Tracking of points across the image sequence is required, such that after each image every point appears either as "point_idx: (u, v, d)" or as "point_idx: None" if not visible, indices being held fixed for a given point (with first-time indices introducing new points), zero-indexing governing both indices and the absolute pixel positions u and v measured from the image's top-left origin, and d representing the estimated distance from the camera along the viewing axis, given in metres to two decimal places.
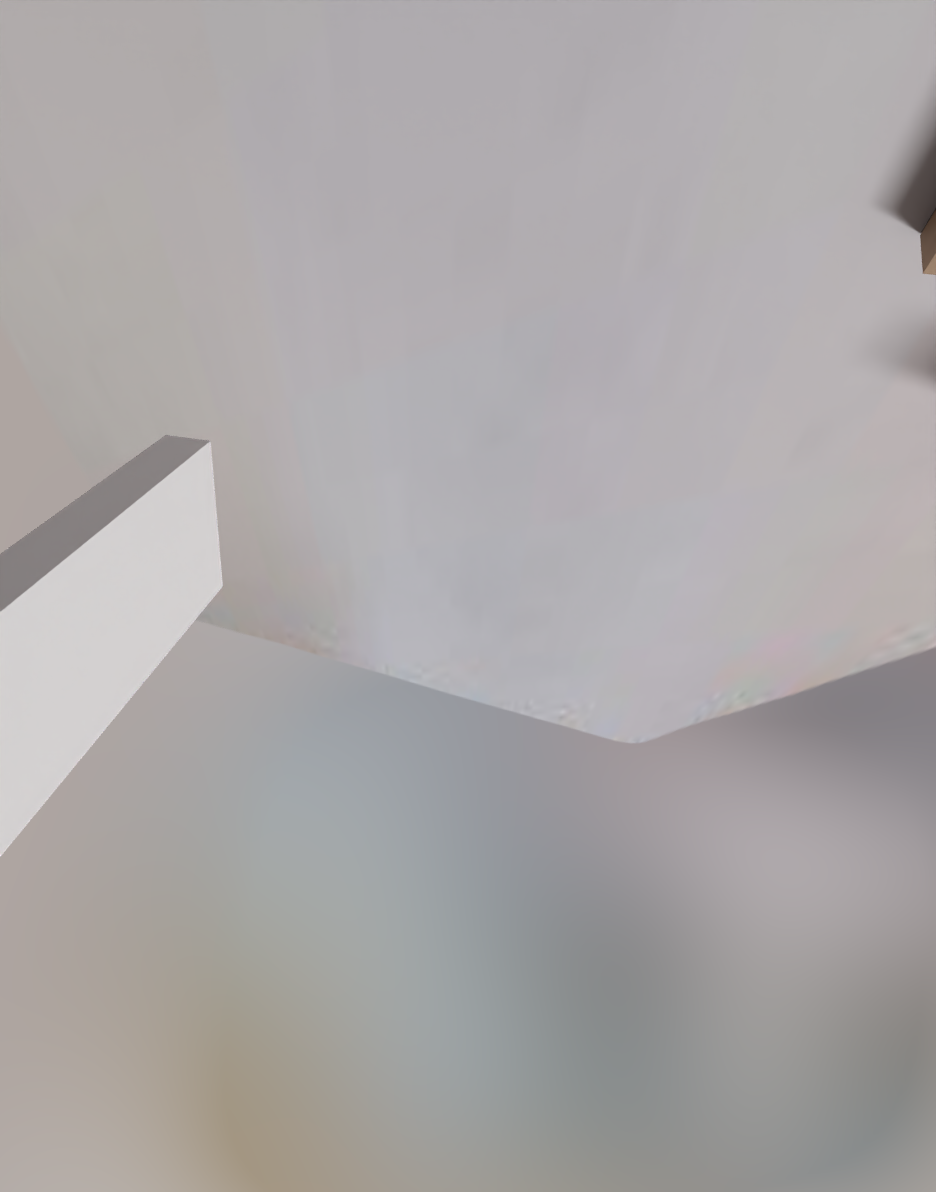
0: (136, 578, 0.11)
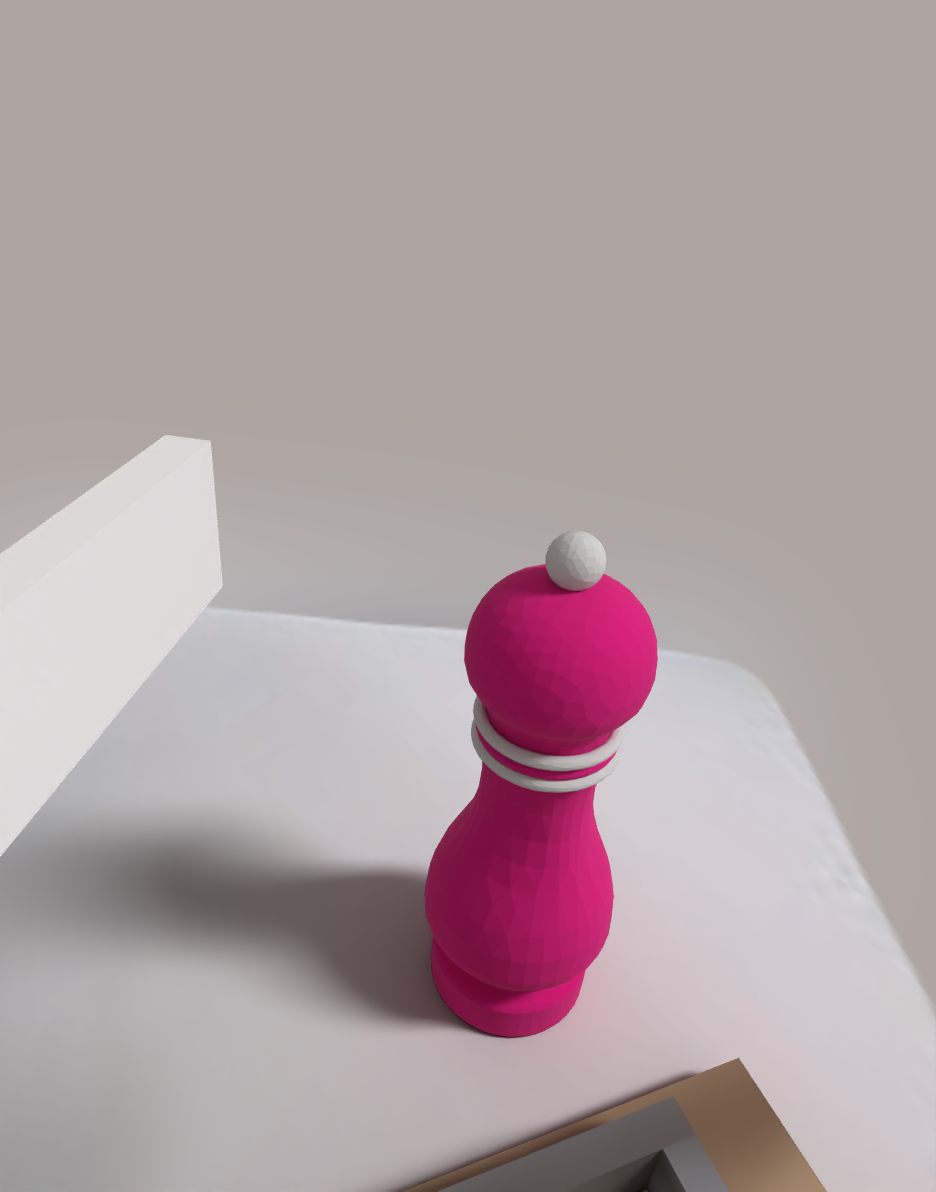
0: (136, 578, 0.11)
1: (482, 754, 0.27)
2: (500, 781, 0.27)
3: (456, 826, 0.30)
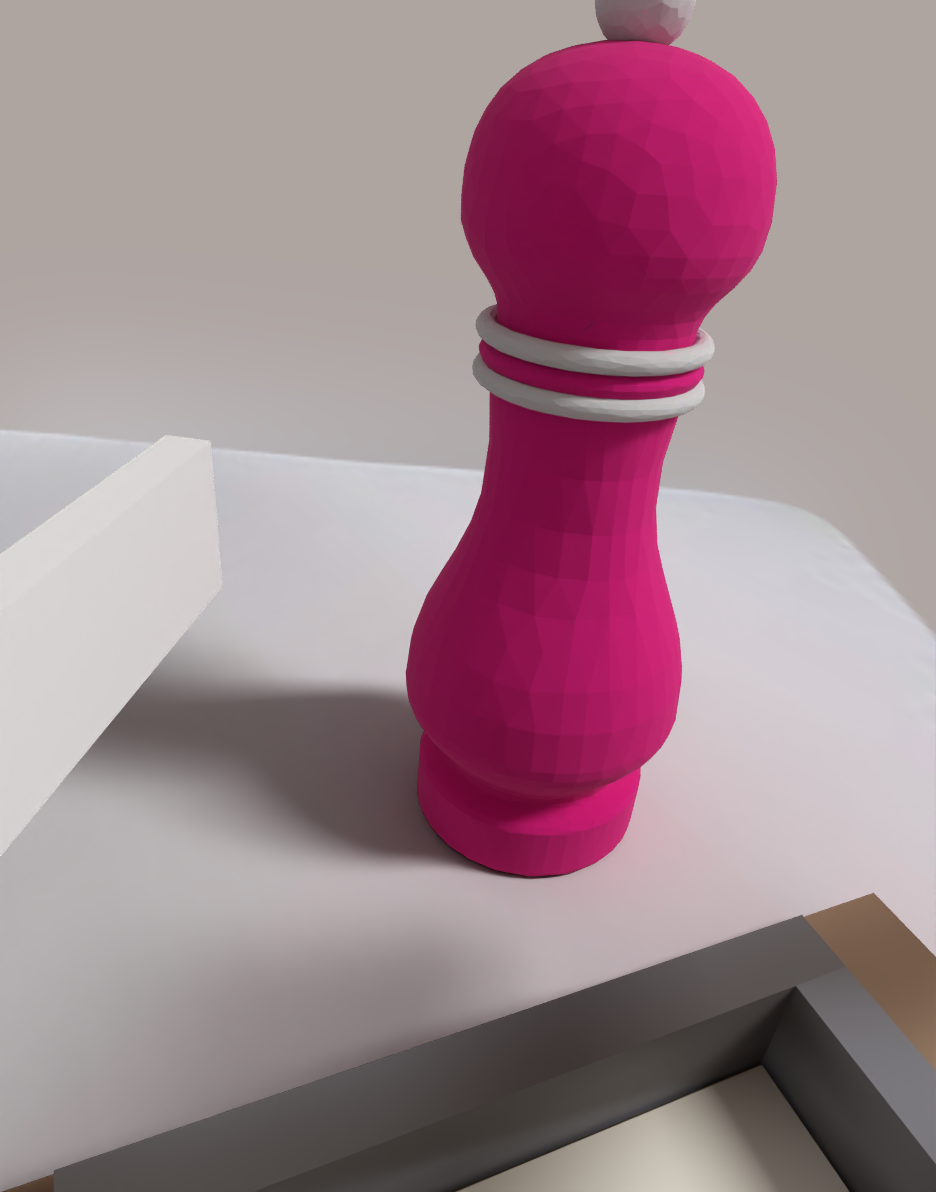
0: (136, 578, 0.11)
1: (490, 379, 0.17)
2: (519, 428, 0.17)
3: (451, 557, 0.21)
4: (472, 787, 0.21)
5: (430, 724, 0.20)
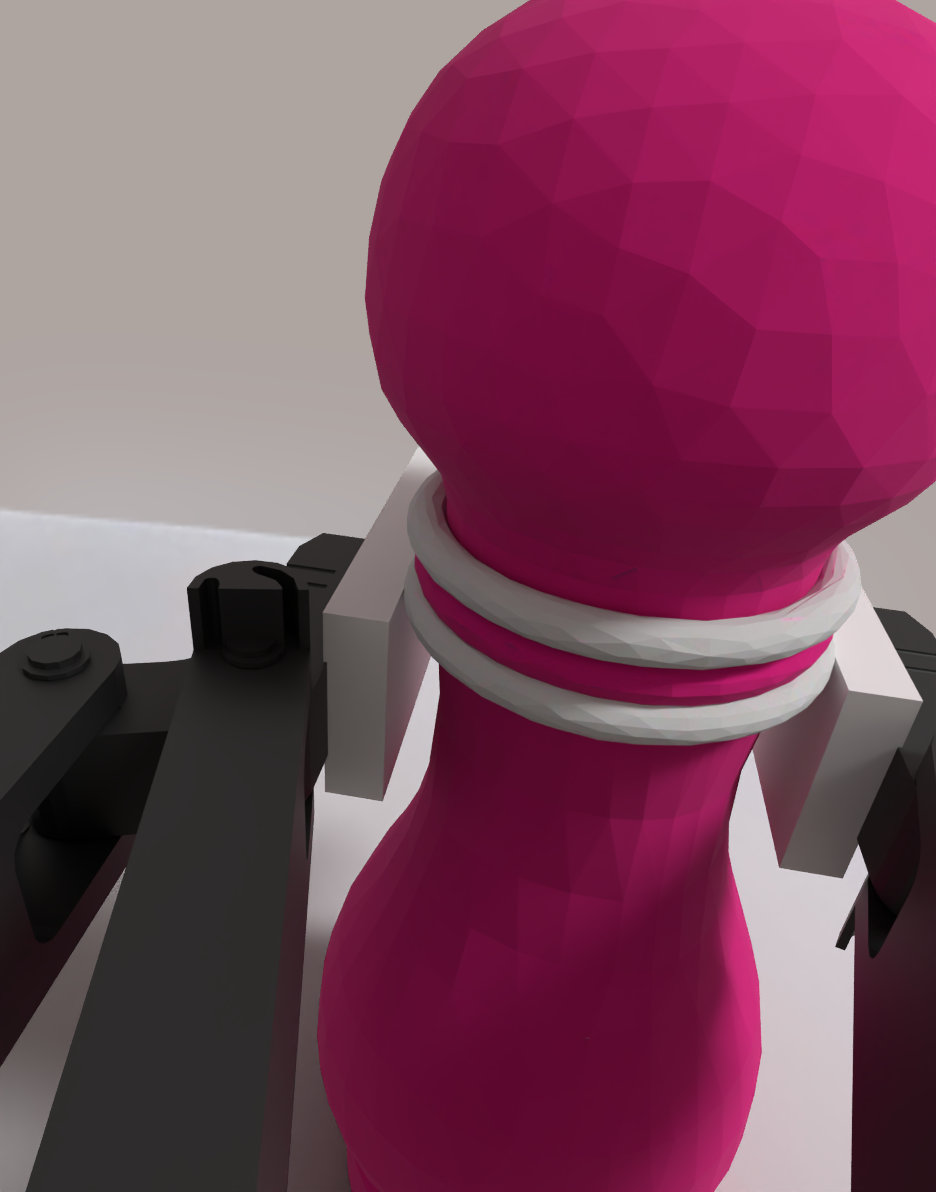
0: None
1: (430, 635, 0.09)
2: (486, 720, 0.09)
3: (384, 848, 0.13)
4: None
5: (346, 1138, 0.12)
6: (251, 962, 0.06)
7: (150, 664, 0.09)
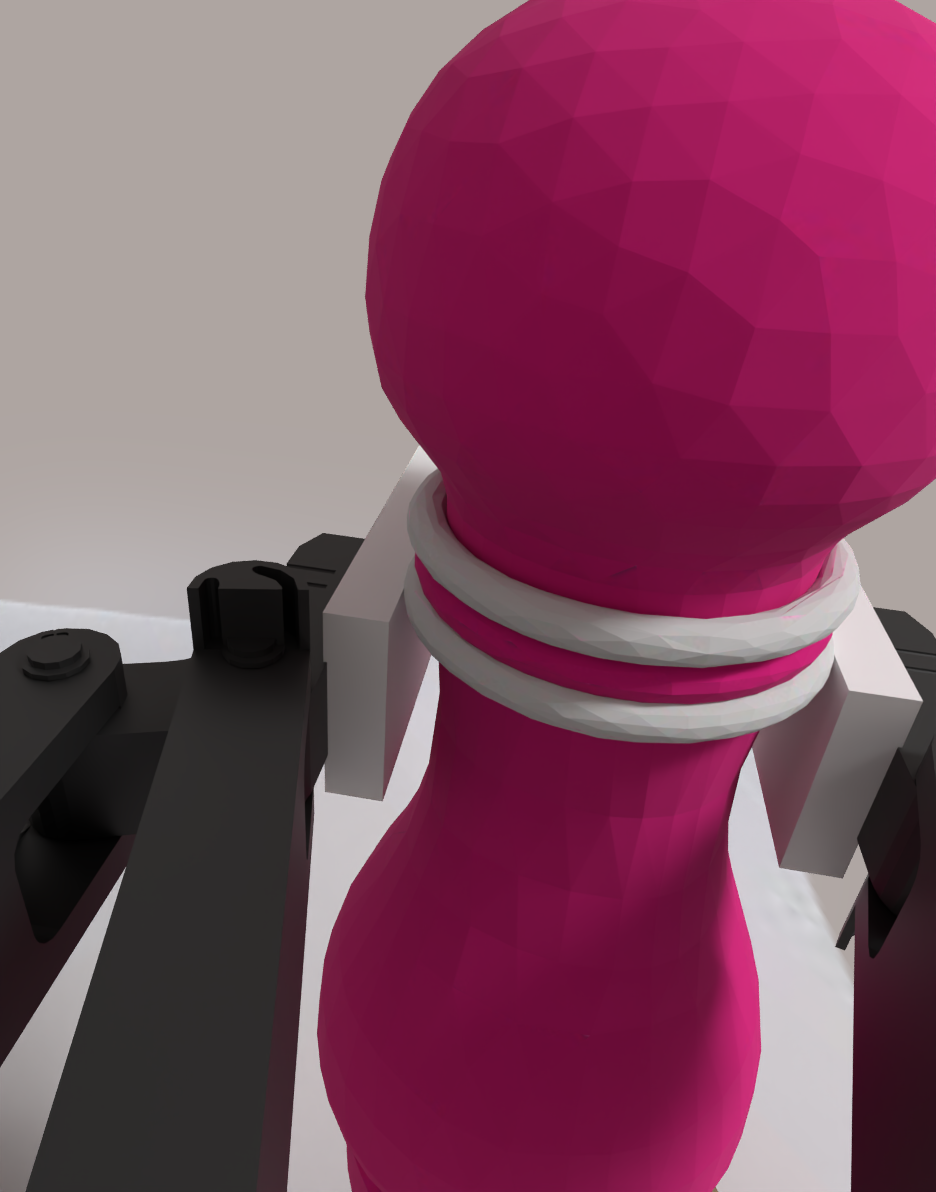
0: None
1: (430, 633, 0.09)
2: (486, 718, 0.09)
3: (384, 846, 0.13)
4: None
5: (346, 1136, 0.12)
6: (251, 962, 0.06)
7: (149, 664, 0.09)
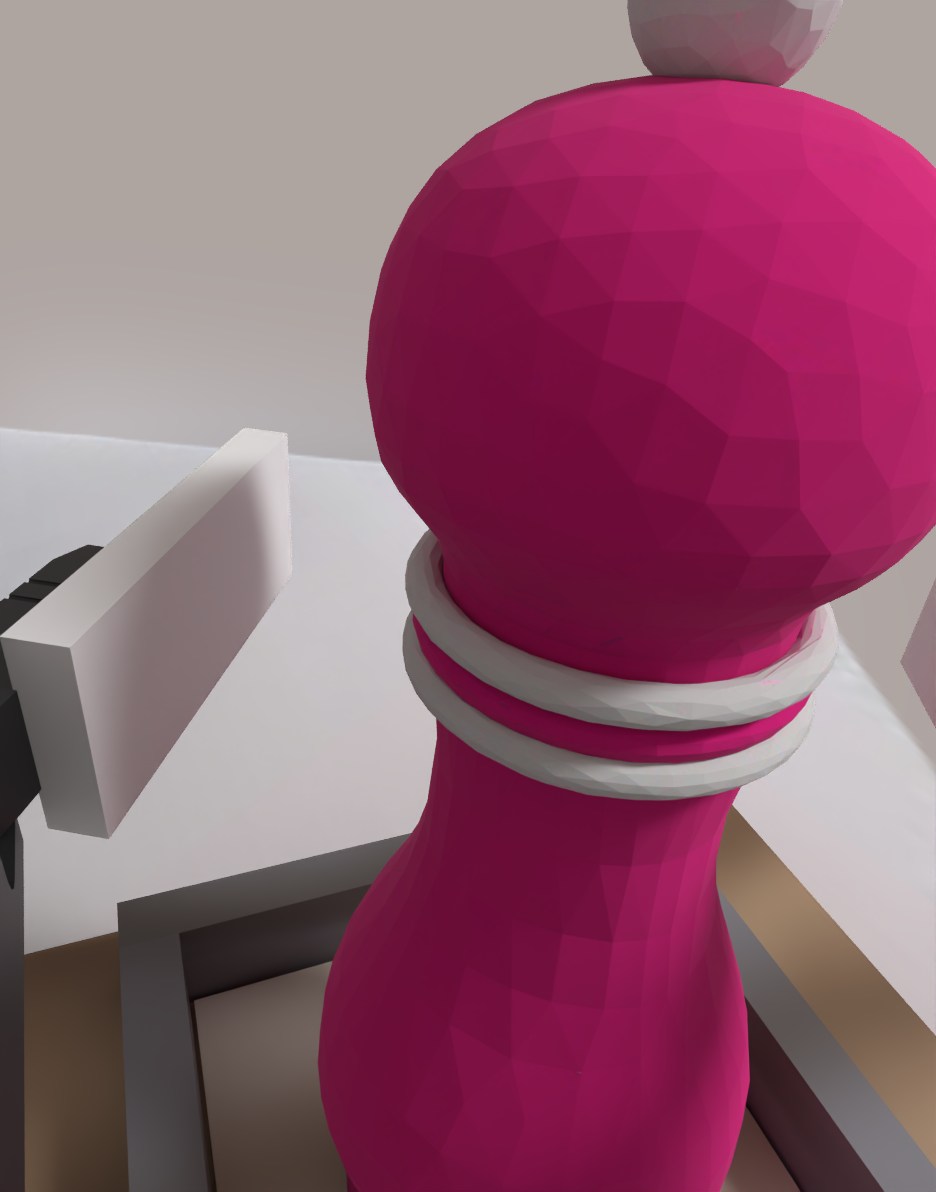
0: (228, 563, 0.12)
1: (427, 690, 0.09)
2: (481, 771, 0.09)
3: (383, 882, 0.13)
4: None
5: (346, 1165, 0.12)
6: None
7: None
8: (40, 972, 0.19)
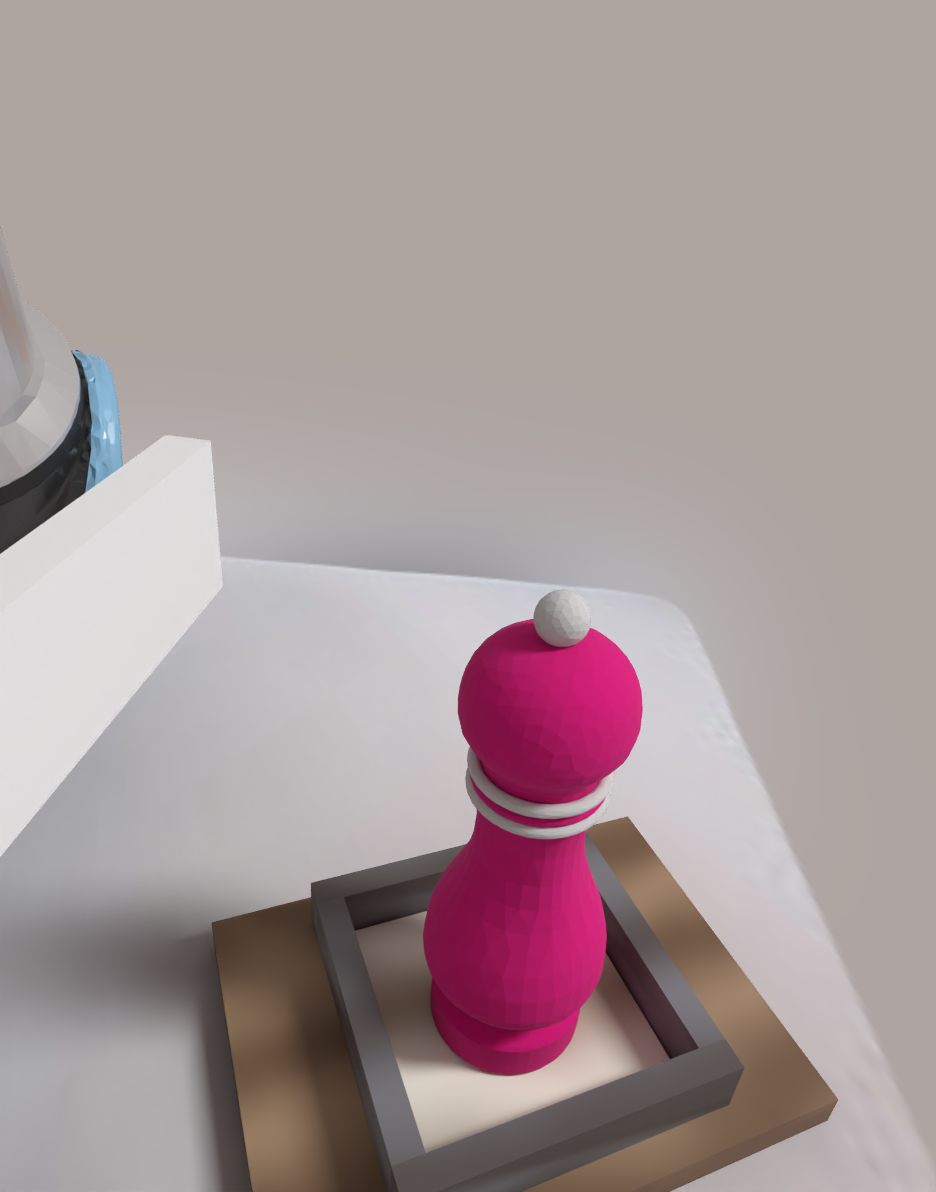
0: (136, 578, 0.11)
1: (476, 802, 0.28)
2: (494, 828, 0.28)
3: (453, 869, 0.31)
4: (467, 1015, 0.32)
5: (439, 983, 0.31)
6: None
7: None
8: (266, 920, 0.38)
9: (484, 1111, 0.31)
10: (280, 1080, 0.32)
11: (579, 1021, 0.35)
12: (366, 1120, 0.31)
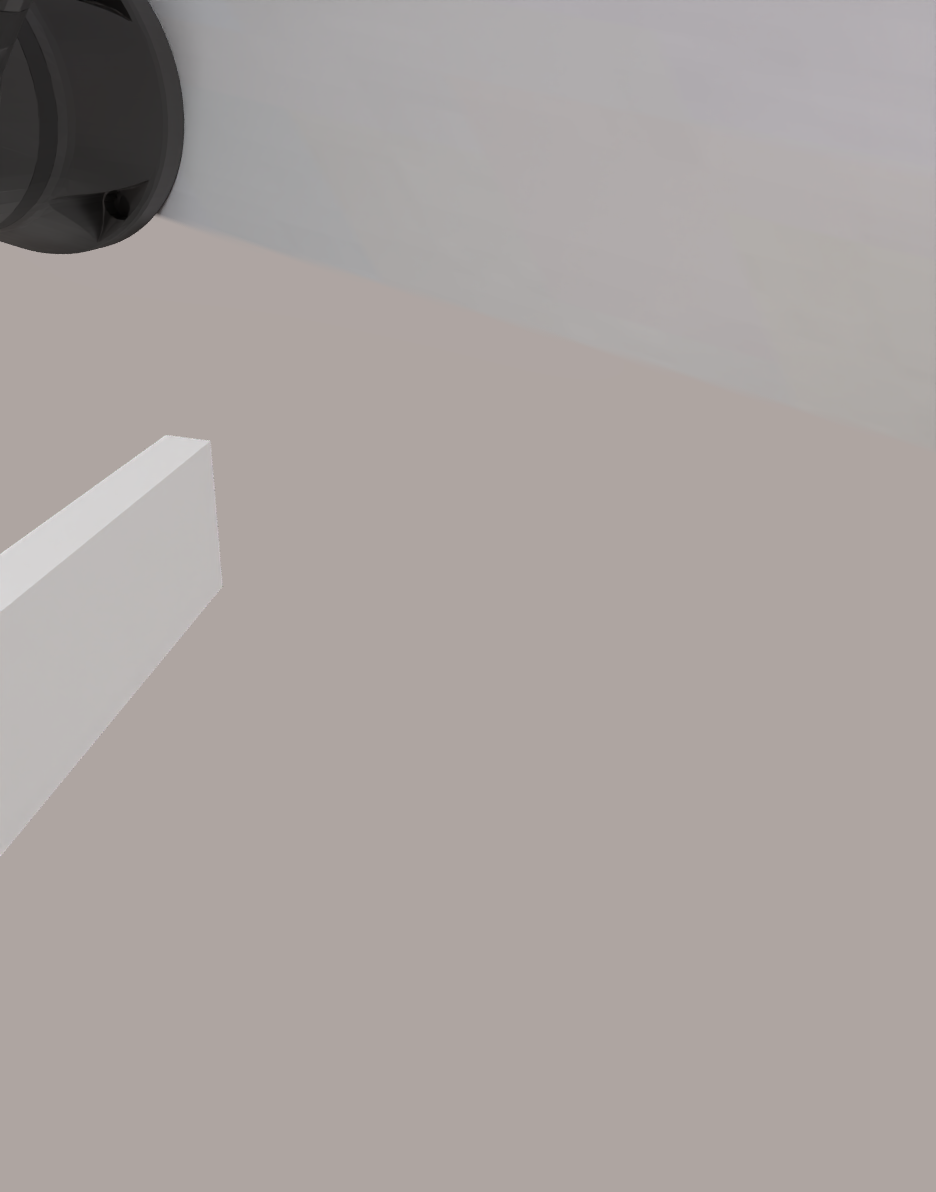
0: (136, 578, 0.11)
1: None
2: None
3: None
4: None
5: None
6: None
7: None
8: None
9: None
10: None
11: None
12: None
